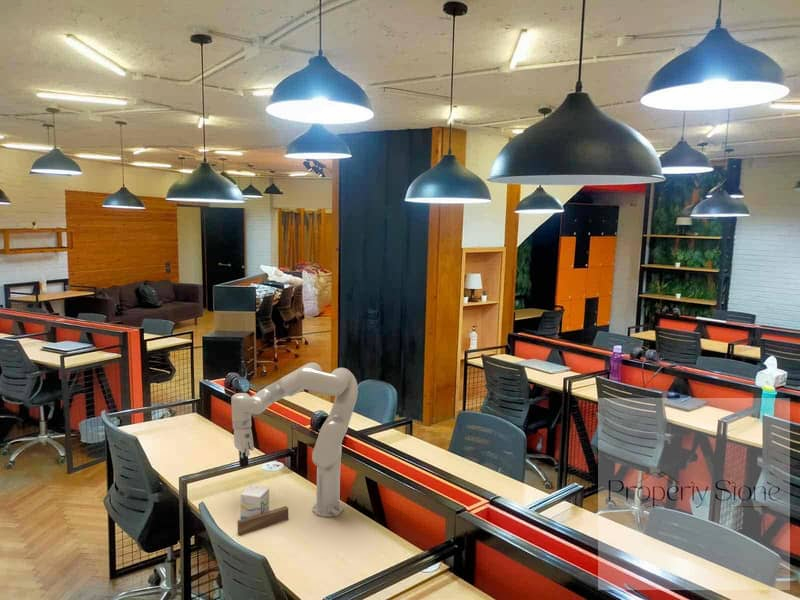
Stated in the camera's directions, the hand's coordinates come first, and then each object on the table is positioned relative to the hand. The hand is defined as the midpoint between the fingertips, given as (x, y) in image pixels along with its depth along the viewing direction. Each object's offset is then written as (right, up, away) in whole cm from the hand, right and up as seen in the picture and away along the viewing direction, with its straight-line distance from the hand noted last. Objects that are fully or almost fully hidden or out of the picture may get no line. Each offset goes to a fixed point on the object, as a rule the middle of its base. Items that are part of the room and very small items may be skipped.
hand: (244, 465), depth 227 cm
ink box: (+7, -18, -10) cm, 22 cm away
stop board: (+12, -19, -15) cm, 27 cm away
